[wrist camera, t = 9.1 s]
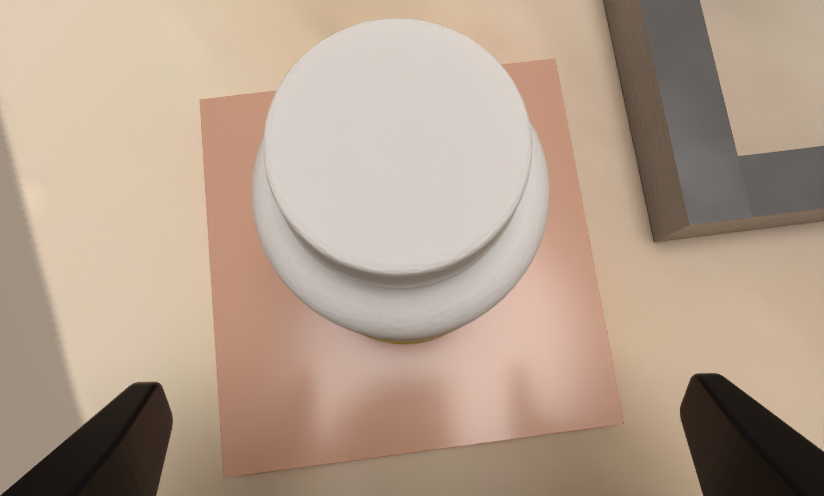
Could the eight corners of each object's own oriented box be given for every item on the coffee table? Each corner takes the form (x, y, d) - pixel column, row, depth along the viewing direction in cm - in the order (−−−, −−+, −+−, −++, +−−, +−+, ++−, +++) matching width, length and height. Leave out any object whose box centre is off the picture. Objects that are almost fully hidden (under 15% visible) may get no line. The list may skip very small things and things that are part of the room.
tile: (612, 420, 19) (623, 423, 18) (234, 471, 18) (223, 477, 17) (548, 72, 21) (554, 58, 20) (209, 112, 20) (199, 99, 19)
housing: (969, 202, 20) (1048, 180, 17) (654, 242, 20) (689, 225, 17) (880, -78, 22) (940, -133, 20) (593, -47, 22) (617, -99, 19)
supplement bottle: (307, 184, 19) (191, -14, 9) (477, 161, 19) (553, -57, 9) (326, 358, 18) (218, 360, 8) (505, 333, 18) (627, 303, 8)
